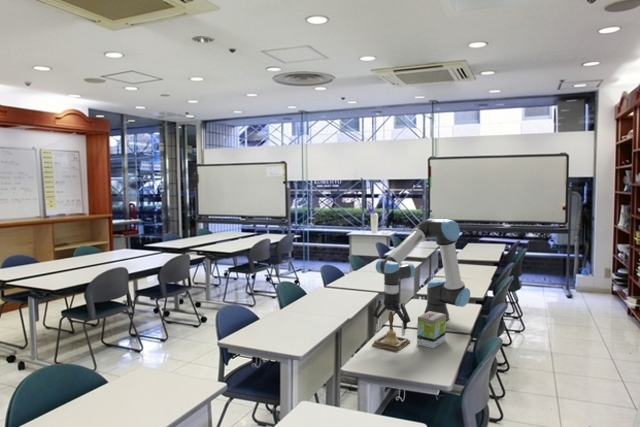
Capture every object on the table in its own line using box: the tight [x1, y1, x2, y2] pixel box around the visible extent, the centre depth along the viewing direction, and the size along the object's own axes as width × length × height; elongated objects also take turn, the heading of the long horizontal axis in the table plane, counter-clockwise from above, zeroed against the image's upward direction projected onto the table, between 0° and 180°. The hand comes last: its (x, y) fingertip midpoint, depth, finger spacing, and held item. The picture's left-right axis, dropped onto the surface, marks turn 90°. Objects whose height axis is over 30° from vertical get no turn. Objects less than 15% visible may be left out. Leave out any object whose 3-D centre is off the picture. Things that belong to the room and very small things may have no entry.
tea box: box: [416, 311, 447, 349], centre depth 233 cm, size 15×10×15 cm, turn 143°
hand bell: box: [383, 310, 399, 345], centre depth 231 cm, size 8×8×16 cm
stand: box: [371, 333, 411, 353], centre depth 231 cm, size 16×14×2 cm
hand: (391, 332), depth 231 cm, fingers open, 13 cm apart
